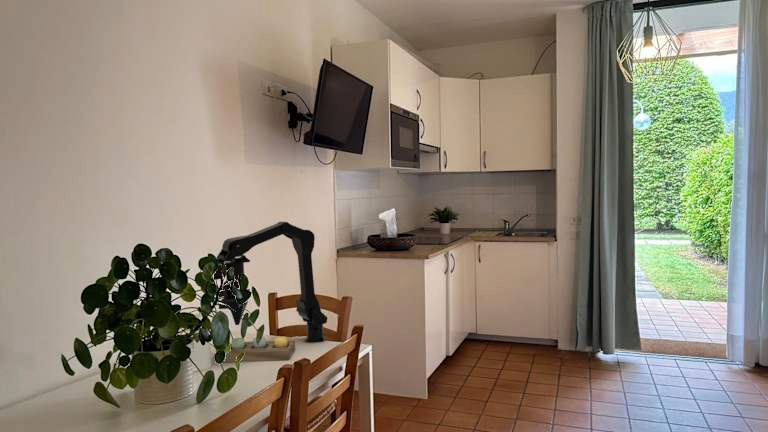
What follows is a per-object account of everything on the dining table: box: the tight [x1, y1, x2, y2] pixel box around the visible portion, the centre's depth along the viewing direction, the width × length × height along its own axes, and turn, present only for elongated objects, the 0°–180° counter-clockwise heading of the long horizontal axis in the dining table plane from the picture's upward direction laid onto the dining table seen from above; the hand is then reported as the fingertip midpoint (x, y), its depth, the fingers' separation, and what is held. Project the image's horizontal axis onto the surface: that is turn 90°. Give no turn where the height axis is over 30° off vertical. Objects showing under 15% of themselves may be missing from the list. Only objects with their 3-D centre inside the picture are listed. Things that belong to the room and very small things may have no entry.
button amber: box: [274, 335, 288, 348], centre depth 175 cm, size 4×4×4 cm
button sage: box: [231, 337, 245, 349], centre depth 175 cm, size 4×4×4 cm
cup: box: [192, 312, 212, 372], centre depth 164 cm, size 8×8×16 cm
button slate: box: [252, 337, 267, 349], centre depth 175 cm, size 4×4×4 cm
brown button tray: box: [224, 339, 296, 363], centre depth 175 cm, size 12×21×3 cm, turn 90°
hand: (237, 324), depth 174 cm, fingers closed
